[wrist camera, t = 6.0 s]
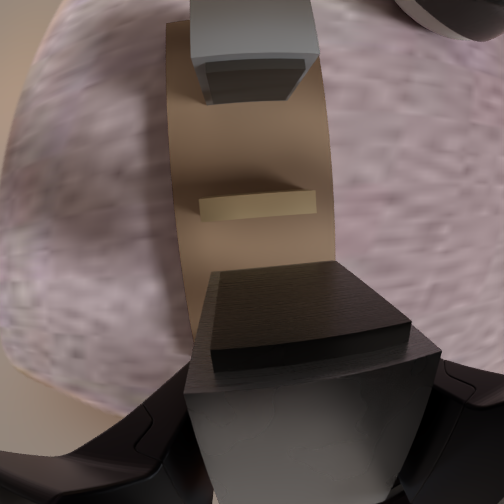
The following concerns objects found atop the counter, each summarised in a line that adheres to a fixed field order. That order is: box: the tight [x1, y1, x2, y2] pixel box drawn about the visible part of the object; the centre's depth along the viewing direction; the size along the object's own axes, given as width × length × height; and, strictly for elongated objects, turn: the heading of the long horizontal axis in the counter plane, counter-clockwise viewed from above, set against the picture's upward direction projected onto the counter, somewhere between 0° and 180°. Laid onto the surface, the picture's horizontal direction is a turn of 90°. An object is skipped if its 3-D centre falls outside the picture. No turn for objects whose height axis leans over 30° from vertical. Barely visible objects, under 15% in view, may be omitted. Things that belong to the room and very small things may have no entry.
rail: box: [166, 0, 335, 342], centre depth 12 cm, size 20×8×8 cm, turn 4°
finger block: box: [183, 260, 442, 504], centre depth 7 cm, size 5×4×6 cm
